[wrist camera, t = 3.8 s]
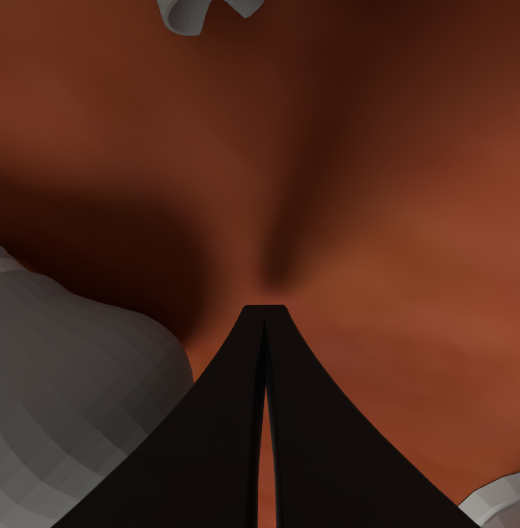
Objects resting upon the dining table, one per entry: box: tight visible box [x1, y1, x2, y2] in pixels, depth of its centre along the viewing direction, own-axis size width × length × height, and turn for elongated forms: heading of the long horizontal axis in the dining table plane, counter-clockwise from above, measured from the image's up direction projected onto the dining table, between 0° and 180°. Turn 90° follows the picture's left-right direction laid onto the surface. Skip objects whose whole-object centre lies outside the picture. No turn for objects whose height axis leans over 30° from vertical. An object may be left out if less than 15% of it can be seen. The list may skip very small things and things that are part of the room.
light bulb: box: [0, 246, 194, 528], centre depth 8 cm, size 6×6×10 cm
